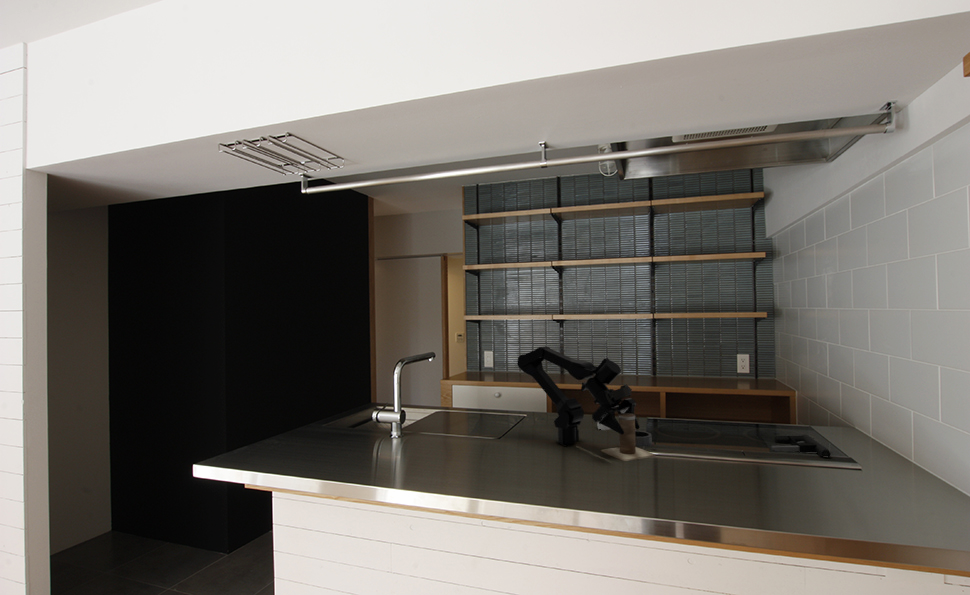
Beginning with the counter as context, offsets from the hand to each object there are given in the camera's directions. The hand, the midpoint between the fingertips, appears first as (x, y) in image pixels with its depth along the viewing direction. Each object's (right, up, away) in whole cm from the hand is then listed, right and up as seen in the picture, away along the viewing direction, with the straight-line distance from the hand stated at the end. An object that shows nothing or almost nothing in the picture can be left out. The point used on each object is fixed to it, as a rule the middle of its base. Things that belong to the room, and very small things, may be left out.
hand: (631, 431), depth 167 cm
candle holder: (+6, -8, +13) cm, 17 cm away
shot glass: (0, -9, +38) cm, 39 cm away
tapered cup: (-1, -7, +1) cm, 7 cm away
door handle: (+56, -8, +6) cm, 57 cm away
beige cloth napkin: (-1, -9, +1) cm, 9 cm away
